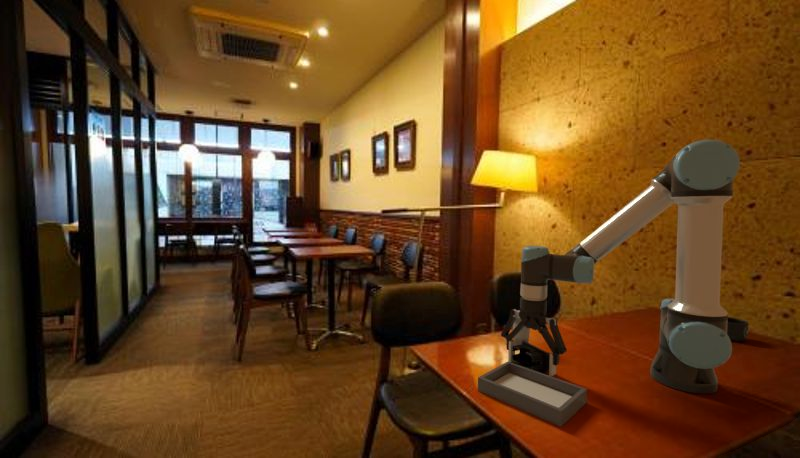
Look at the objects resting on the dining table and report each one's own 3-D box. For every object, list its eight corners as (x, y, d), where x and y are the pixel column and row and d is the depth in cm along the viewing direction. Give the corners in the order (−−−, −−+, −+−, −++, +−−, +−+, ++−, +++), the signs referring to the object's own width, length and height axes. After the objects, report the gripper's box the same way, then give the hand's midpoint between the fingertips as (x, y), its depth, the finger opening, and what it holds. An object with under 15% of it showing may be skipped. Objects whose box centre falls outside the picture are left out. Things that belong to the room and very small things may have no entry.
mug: (750, 339, 138) (751, 321, 138) (744, 345, 133) (745, 325, 132) (709, 331, 148) (710, 313, 147) (702, 335, 142) (703, 317, 142)
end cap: (552, 373, 109) (553, 351, 109) (533, 377, 106) (534, 354, 106) (529, 360, 118) (529, 339, 118) (510, 363, 116) (511, 342, 115)
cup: (528, 351, 125) (529, 316, 124) (508, 347, 129) (509, 313, 128) (533, 345, 131) (534, 311, 130) (514, 341, 135) (515, 308, 134)
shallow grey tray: (586, 402, 93) (587, 388, 93) (560, 426, 82) (561, 411, 82) (507, 373, 109) (507, 361, 108) (477, 390, 98) (478, 377, 98)
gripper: (581, 303, 105) (577, 377, 106) (503, 288, 122) (501, 352, 124) (570, 308, 100) (566, 386, 101) (490, 292, 117) (489, 358, 119)
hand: (531, 367), depth 112 cm, fingers open, 12 cm apart
